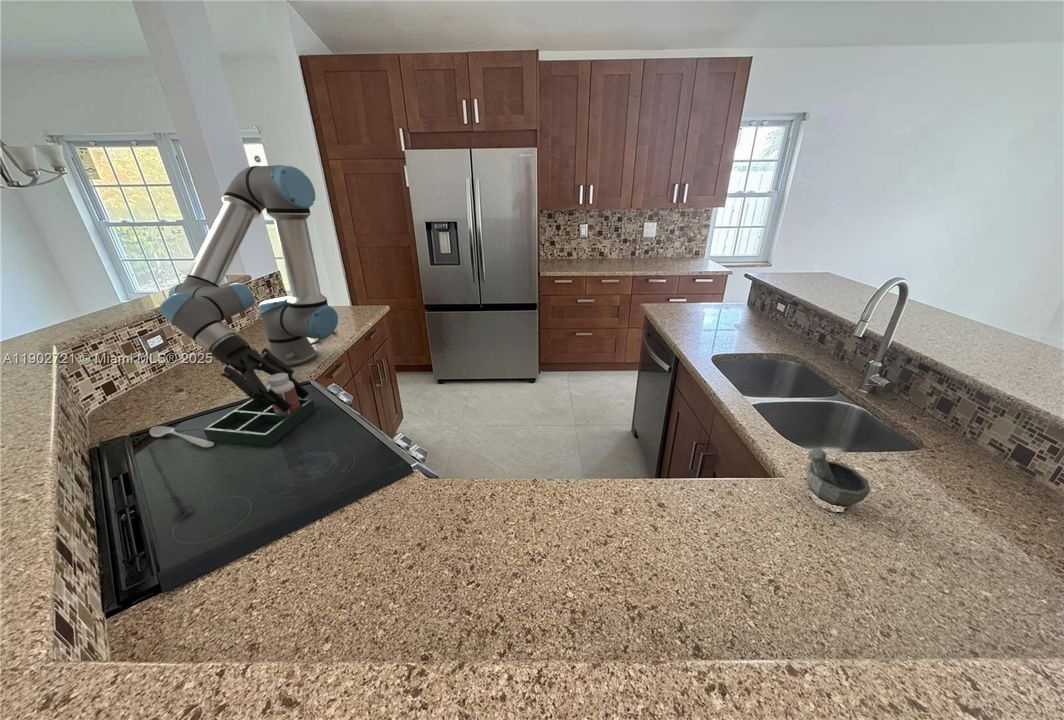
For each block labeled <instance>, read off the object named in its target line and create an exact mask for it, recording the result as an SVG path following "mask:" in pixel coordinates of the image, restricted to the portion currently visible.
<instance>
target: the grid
mask: <svg viewBox="0 0 1064 720" xmlns="http://www.w3.org/2000/svg"><path fill="white" fill-rule="evenodd" d="M298 399H299V402H300V406H301V407H299V408H298V409H297V410H296V411H294V412H293V413H292V414H290V415H286V414H275V412H274V409H273V406H272V404H270V403H269V402H267V401H266V400H265V399H264V398H262V399H258V398H255V399H251V398H250V400H248V401H246V402H245V403H243V404H242V405H240V406H238V407H237V408H235V409H234V410H232V411H230V412H229V413H227V414H225V415H224V416H222V417H220V418H219V419H217V420H216V421H214V422H212V423H211V424H209V425H208V426H206V427H205V428H203V429H202V430H203V433H204V435H205V437H206V440H207V441H211V442H216V443H225V444H226V443H228V444H236V445H237V444H238V445H246V446H247V445H248V446H258V447H259V446H260V447H267V448H268V447H269V448H270V447H272V446H273V445H274V444H275V443H277V442H278V441H279V440H280V439H281V438H283V437H284V436H286V435H287V434H288V433H289V432H290V431H292V430H293V429H294V428H295V427H297V426H298V425H299V424H300V423H301V422H302V421H304V420H305V419H306V418H308V417H309V416H310V415H311V414H312V413H314V412H315V411H316V410H317V407H316V405H315V401H314V398H306V397H305V398H304V399H301V398H300V397H298Z"/></svg>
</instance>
